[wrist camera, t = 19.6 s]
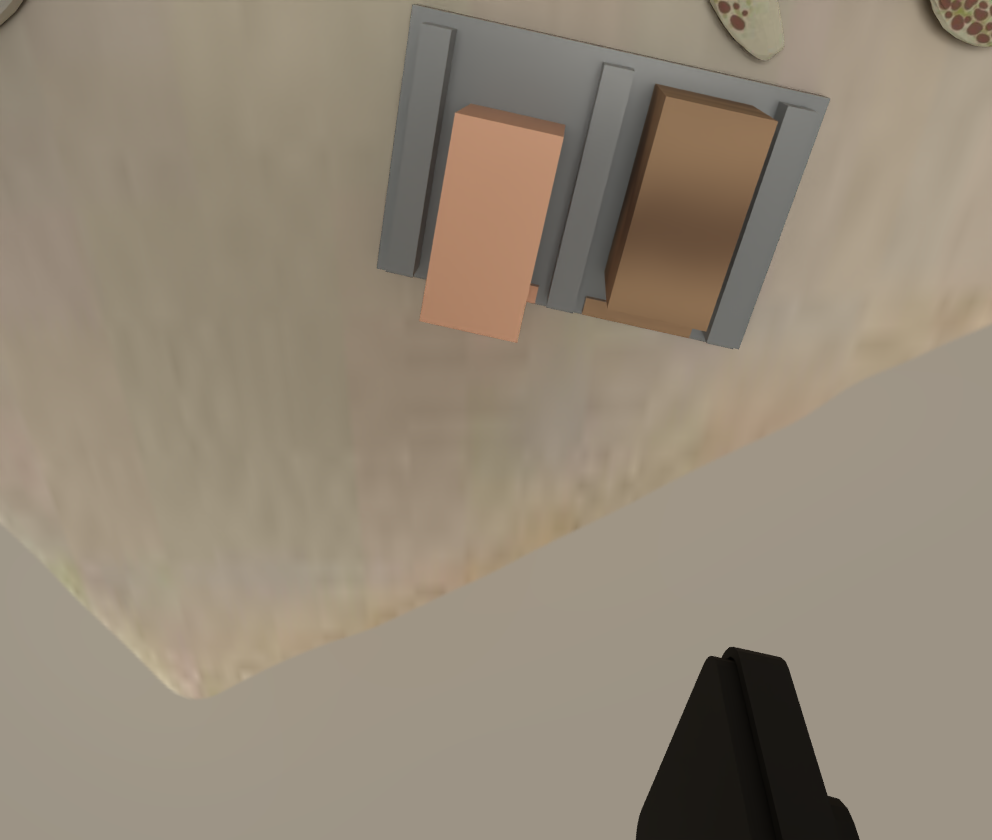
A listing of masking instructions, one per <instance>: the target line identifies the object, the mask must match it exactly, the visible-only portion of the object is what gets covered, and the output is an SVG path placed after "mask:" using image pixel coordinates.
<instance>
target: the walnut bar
mask: <svg viewBox="0 0 992 840" xmlns="http://www.w3.org/2000/svg"><path fill="white" fill-rule="evenodd" d="M777 124H778V121H777V120H775V119H773V118H772V117H770V116H769V115H767V114H765V113H764V112H762V111H761V110H759V109H757V108H756V107H754V106H753V105H749V104H744V103H740V102H735V101H731V100H726V99H722V98H718V97H713V96H709V95H704V94H700V93H695V92H691V91H687V90H682V89H678V88H673V87H669V86H664V85H660V84H656V83H655V86H654V90H653V94H652V97H651V101H650V105H649V109H648V112H647V116H646V120H645V123H644V127H643V131H642V134H641V138H640V142H639V146H638V149H637V153H636V157H635V160H634V164H633V168H632V172H631V175H630V179H629V183H628V186H627V190H626V194H625V197H624V201H623V205H622V209H621V212H620V216H619V220H618V223H617V227H616V231H615V234H614V238H613V242H612V246H611V249H610V253H609V257H608V260H607V264H606V268H605V271H604V275H605V289H606V303H607V310H612V311H616V312H621V313H625V314H629V315H634V316H638V317H643V318H647V319H652V320H656V321H661V322H665V323H670V324H674V325H679V326H683V327H688V328H692V329H696V330H701V331H705V332H706V331H707V328H708V325H709V322H710V319H711V316H712V314H713V311H714V308H715V305H716V302H717V299H718V296H719V293H720V290H721V287H722V284H723V281H724V278H725V276H726V273H727V270H728V267H729V264H730V261H731V258H732V255H733V252H734V249H735V246H736V243H737V240H738V238H739V235H740V232H741V229H742V226H743V223H744V220H745V217H746V214H747V211H748V208H749V205H750V202H751V200H752V197H753V194H754V191H755V188H756V185H757V182H758V179H759V176H760V173H761V170H762V167H763V164H764V162H765V159H766V156H767V153H768V150H769V147H770V144H771V141H772V138H773V135H774V132H775V129H776V126H777Z"/></svg>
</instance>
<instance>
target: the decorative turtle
mask: <svg viewBox="0 0 992 840" xmlns="http://www.w3.org/2000/svg"><path fill="white" fill-rule="evenodd" d="M930 1H931V5H932V10H933V12H934V14H935V15H936V17H937V18H938V20H939V22H940V23H941V25H942V27H943V28H944V29H945V30H946V31H948V32H949V33H950V34H952V35H953V36H954V37H956V38H957V39H959V40H961V41H963V42H966V43H969V44H971V45H975V46H981V47H990V46H992V0H930ZM710 3H711V5H712V6H713V8H714V10H715V12H716V13H717V15H718V17H719V18H720V20H721V22H722V23H723V25H724V26H725V27H726V29H727V30H728V31H729V33H730V34H731V36H732V37H733V38H734V39H735V40H736V41H737V42H738V43H739V44H740V45H741V46H743V47H744V48H745V49H746V50H747V51H748V52H749V53H751V54H752V55H753V56H755V57H757V58H758V59H760V60H769V59H771V58H772V57H773V56H774V55H776V54H777V53H778V52H780V51H781V50H782V49H783V47H784V35H783V27H782V21H781V16H780V10H779V4H778V0H710Z"/></svg>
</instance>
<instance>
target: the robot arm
mask: <svg viewBox="0 0 992 840" xmlns="http://www.w3.org/2000/svg"><path fill="white" fill-rule="evenodd" d="M22 1H23V0H0V25H1V24H2V23H3V22H5V21H6V20H7V19H8V18H9V17H10V16H11V15H12V14H13V13H15V12H16V10H17V9H18V7H19V6H20V4H21V3H22ZM636 833H637V834H636V840H860V839H859V836H858V833H857V830H856V827H855V824H854V822H853V820H852V817H851V815H850V813H849V811H848V809H847V807H846V806H845V805H844V804H843V803H842V802H841V801H840V800H839V799H837V798H834V797H830V796H827V792H826V789H825V786H824V782H823V779H822V776H821V773H820V769H819V766H818V763H817V760H816V756H815V753H814V750H813V746H812V743H811V740H810V737H809V733H808V730H807V727H806V724H805V720H804V717H803V714H802V711H801V707H800V704H799V701H798V698H797V694H796V691H795V688H794V684H793V681H792V678H791V675H790V671H789V668H788V666H787V664H786V662H785V661H784V660H783V659H782V658H781V657H777V656H772V655H768V654H763V653H759V652H754V651H750V650H745V649H741V648H735V647H729V648H728V649H727V650H726V651H725V653H724V654H723V656H722V658H719V657H714V656H710V657H708V658H707V659H706V661H705V663H704V665H703V667H702V670H701V672H700V674H699V676H698V679H697V681H696V683H695V686H694V688H693V691H692V693H691V695H690V697H689V700H688V702H687V704H686V707H685V709H684V712H683V714H682V716H681V719H680V721H679V724H678V726H677V728H676V730H675V733H674V735H673V737H672V740H671V742H670V744H669V747H668V749H667V751H666V754H665V756H664V758H663V761H662V763H661V765H660V768H659V770H658V772H657V775H656V777H655V780H654V782H653V784H652V786H651V789H650V791H649V794H648V796H647V798H646V801H645V803H644V805H643V808H642V810H641V813H640V816H639V821H638V825H637V832H636Z"/></svg>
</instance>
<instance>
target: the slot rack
mask: <svg viewBox="0 0 992 840" xmlns="http://www.w3.org/2000/svg"><path fill="white" fill-rule="evenodd" d="M655 83H656V84H660V85H664V86H669V87H673V88H678V89H682V90H687V91H691V92H695V93H700V94H704V95H709V96H713V97H718V98H722V99H726V100H731V101H735V102H740V103H744V104H749V105H753V106H754V107H756V108H757V109H759V110H761V111H762V112H764V113H765V114H767V115H769V116H770V117H772V118H773V119H775V120H777V121H778V124H777V126H776V129H775V132H774V135H773V138H772V141H771V144H770V147H769V150H768V153H767V156H766V159H765V162H764V164H763V167H762V170H761V173H760V176H759V179H758V182H757V185H756V188H755V191H754V194H753V197H752V200H751V202H750V205H749V208H748V211H747V214H746V217H745V220H744V223H743V226H742V229H741V232H740V235H739V238H738V240H737V243H736V246H735V249H734V252H733V255H732V258H731V261H730V264H729V267H728V270H727V273H726V276H725V278H724V281H723V284H722V287H721V290H720V293H719V296H718V299H717V302H716V305H715V308H714V311H713V314H712V316H711V319H710V322H709V325H708V328H707V331H706V332H705V331H701V330H696V329H692V328H688V327H683V326H679V325H674V324H670V323H665V322H661V321H656V320H652V319H647V318H643V317H638V316H634V315H629V314H625V313H621V312H616V311H612V310H607V303H606V289H605V275H604V271H605V268H606V264H607V260H608V257H609V253H610V249H611V246H612V242H613V238H614V234H615V231H616V227H617V223H618V220H619V216H620V212H621V209H622V205H623V201H624V197H625V194H626V190H627V186H628V183H629V179H630V175H631V172H632V168H633V164H634V160H635V157H636V153H637V149H638V146H639V142H640V138H641V134H642V131H643V127H644V123H645V120H646V116H647V112H648V109H649V105H650V101H651V97H652V94H653V90H654V86H655ZM829 101H830V98H828V97H825V96H822V95H817V94H813V93H808V92H804V91H799V90H795V89H790V88H786V87H782V86H777V85H773V84H768V83H764V82H759V81H755V80H751V79H746V78H742V77H737V76H733V75H728V74H724V73H720V72H715V71H711V70H706V69H702V68H697V67H693V66H689V65H684V64H680V63H675V62H671V61H666V60H662V59H657V58H653V57H649V56H644V55H640V54H635V53H631V52H626V51H622V50H618V49H613V48H609V47H604V46H600V45H595V44H591V43H587V42H582V41H578V40H573V39H569V38H564V37H560V36H556V35H551V34H547V33H542V32H538V31H533V30H529V29H525V28H520V27H516V26H511V25H507V24H502V23H498V22H493V21H489V20H485V19H480V18H476V17H471V16H467V15H462V14H458V13H454V12H449V11H445V10H440V9H436V8H431V7H427V6H423V5H418V4H413V5H412V12H411V20H410V27H409V34H408V42H407V49H406V56H405V64H404V71H403V78H402V86H401V93H400V101H399V108H398V115H397V123H396V130H395V137H394V145H393V152H392V159H391V167H390V174H389V182H388V189H387V196H386V204H385V211H384V218H383V226H382V233H381V240H380V248H379V255H378V262H377V268H378V269H382V270H386V272H390V273H395V274H399V275H404V276H408V277H413V276H414V277H418V278H422V279H427V274H428V268H429V262H430V256H431V251H432V245H433V239H434V233H435V227H436V221H437V216H438V210H439V204H440V198H441V192H442V186H443V181H444V175H445V169H446V163H447V157H448V151H449V146H450V140H451V134H452V128H453V122H454V116H455V112H457V111H459V110H461V109H462V108H464V107H466V106H468V105H469V104H476V105H480V106H484V107H489V108H493V109H498V110H502V111H507V112H511V113H516V114H520V115H524V116H529V117H533V118H538V119H542V120H547V121H551V122H556V123H560V124H564V125H565V132H564V139H563V143H562V147H561V152H560V156H559V161H558V165H557V169H556V174H555V178H554V183H553V187H552V191H551V196H550V200H549V205H548V209H547V213H546V218H545V222H544V227H543V231H542V235H541V240H540V244H539V249H538V253H537V257H536V262H535V266H534V270H533V275H532V279H531V284H530V288H529V292H528V297H527V301H526V302H529V303H534V304H539V305H543V306H546V307H547V308H551V309H556V310H560V311H565V312H569V313H573V312H575V313H579V314H583V315H588V316H592V317H597V318H601V319H605V320H610V321H614V322H619V323H623V324H628V325H632V326H637V327H641V328H646V329H650V330H655V331H659V332H664V333H668V334H673V335H677V336H682V337H686V338H691V339H695V340H700V341H704V342H706V343H708V344H712V345H717V346H721V347H726V348H730V349H733V348H736V349H739V347H740V345H741V342H742V339H743V336H744V334H745V331H746V328H747V325H748V323H749V320H750V317H751V314H752V312H753V309H754V306H755V304H756V301H757V298H758V295H759V293H760V290H761V287H762V284H763V282H764V279H765V276H766V273H767V271H768V268H769V265H770V263H771V260H772V257H773V254H774V252H775V249H776V246H777V243H778V241H779V238H780V235H781V232H782V230H783V227H784V224H785V221H786V219H787V216H788V213H789V211H790V208H791V205H792V202H793V200H794V197H795V194H796V191H797V189H798V186H799V183H800V180H801V178H802V175H803V172H804V170H805V167H806V164H807V161H808V159H809V156H810V153H811V150H812V148H813V145H814V142H815V139H816V137H817V134H818V131H819V128H820V126H821V123H822V120H823V118H824V115H825V112H826V109H827V107H828V104H829Z"/></svg>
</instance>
